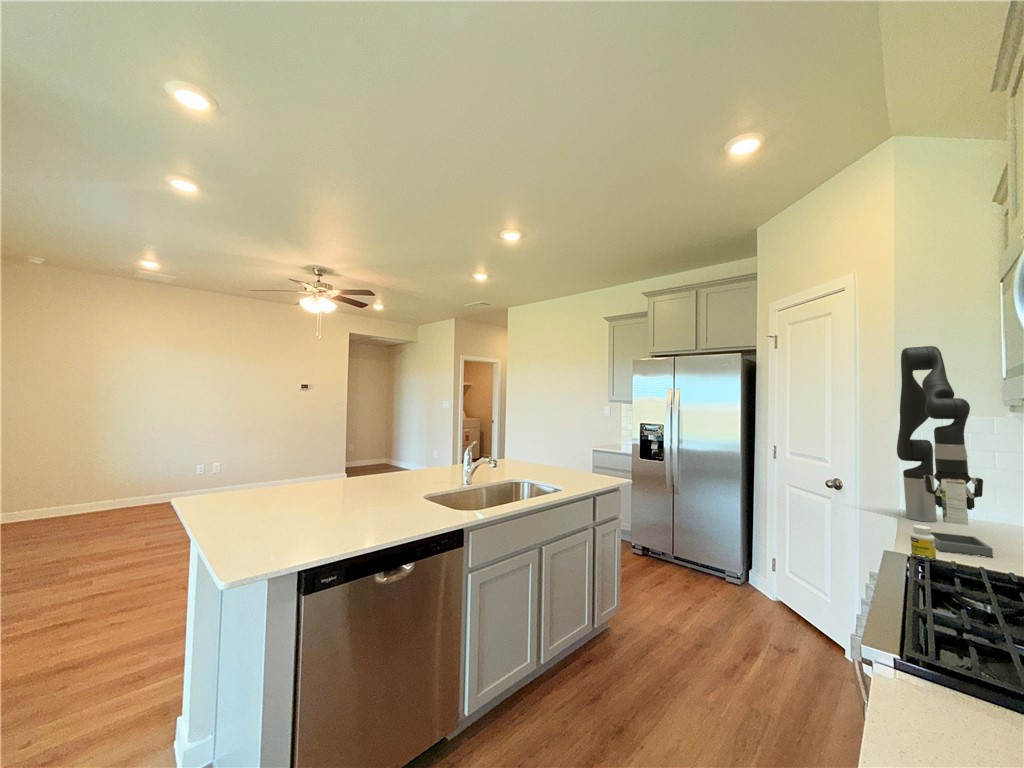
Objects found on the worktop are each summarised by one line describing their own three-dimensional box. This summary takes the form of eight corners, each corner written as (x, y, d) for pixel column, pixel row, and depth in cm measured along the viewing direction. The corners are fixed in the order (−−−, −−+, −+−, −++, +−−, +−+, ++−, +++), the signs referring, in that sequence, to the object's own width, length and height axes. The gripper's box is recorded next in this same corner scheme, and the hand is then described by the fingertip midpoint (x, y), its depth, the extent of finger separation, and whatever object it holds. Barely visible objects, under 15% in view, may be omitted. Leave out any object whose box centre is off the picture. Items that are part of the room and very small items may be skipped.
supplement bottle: (908, 557, 131) (905, 525, 131) (917, 555, 133) (915, 523, 134) (930, 563, 126) (928, 530, 126) (940, 560, 128) (937, 527, 129)
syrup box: (942, 519, 143) (939, 476, 144) (968, 522, 139) (964, 478, 140) (943, 522, 139) (939, 478, 140) (969, 525, 135) (965, 480, 136)
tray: (926, 540, 148) (926, 531, 148) (975, 545, 141) (974, 536, 142) (939, 551, 136) (938, 541, 136) (992, 558, 130) (992, 548, 130)
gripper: (977, 457, 140) (981, 508, 139) (918, 455, 148) (921, 503, 147) (986, 460, 134) (990, 513, 133) (924, 457, 142) (928, 507, 140)
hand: (954, 507), depth 140 cm, fingers closed on syrup box, 6 cm apart
